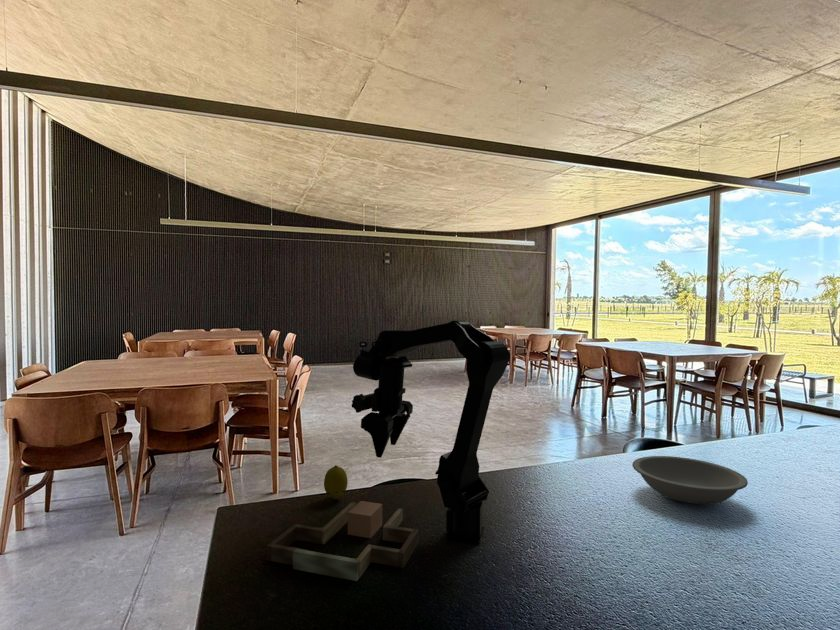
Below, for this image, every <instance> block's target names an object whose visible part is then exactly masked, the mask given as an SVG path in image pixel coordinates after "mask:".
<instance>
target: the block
mask: <svg viewBox="0 0 840 630" xmlns="http://www.w3.org/2000/svg"><path fill="white" fill-rule="evenodd" d="M381 527H383V503H377V502H371V501H362V500H359V502H358V503H356V506H354V507H353V508H352V509H351V510H350V511H349V512H348V522H347V536H348V535H349V536H355V537H361V538H365V539H366V538H367V539H372V537H373V536H374V535H375V534H376V533H377V532H378V531H379V530H380V528H381Z"/></svg>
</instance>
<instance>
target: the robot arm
mask: <svg viewBox="0 0 840 630" xmlns="http://www.w3.org/2000/svg"><path fill="white" fill-rule="evenodd" d="M448 342H453V343H454V346H455V347H456V349H457V351H458V353H459V354H460V355H461V356H462V357H464V359H466V365H465V370H466V374H467V379H468V387H467V390H466V391H467V392H466V394H465V398H464V399H465V400H464V403H463V408H462V412H461V415H460V419H459V423H458V428H457V431H456V435H455V439H454V444H453V447H452V450H451V451H449V452H447V453H444V454H441V455H440V456H439V461H438V468H437V470H436V472H435V475H437V477H436V484H437V486H438V488H439V491H440V495H441V498H442V503H443V506H444V508H447V509H446V512H445V522H446V523H445V530H446V532H447V534H446V539H447V540H451V541H456V542H457V541H458V542H465V543H471V544H480V543H481V540H482V537H483V534H484V531H485V528H484V526H483V502H484V501H487V500H488V496H489V494H490V490H489V489H488V487H487V486H486V484H485V483H484V482H483V480H482V479H481V477H480V476H479V473H480V463H479V460H478V456H477V454H478V451H479V450H478V449H479V445H480V441H481V438H482V434H483V429H484V426H485V421H486V418H487V414H488V410H489V406H490V403H491V399H492V395H493V391H494V388H495V386H496V385H497V384H498V382H499V381H500V380H501V378H502V377H503V376H504V374H505V372H506V370H507V367H508V365H509V362H510V359H511V354H510V353H511V352H510V351H509V350H508V347H507V346H506V345H505V343H503V342H501V341H498V340H495V339H494V338H492V337H491V336H490V335H489V334H486V333H485V332H484V331H481V330H480V329H478V328H476V327H475V326H474V325H473V324H472V323H470V322H469V321H467V320H450V321H449V322H447V323H445V322H444V323H441V324H435V325H431V326H425V327H421V328H416V329H412V330H407V329H405V330H404V329H398V330H397V329H393V330H382V331H380V332H379V333H378V337H377V339H376V340H375V342H374V343H373V345H372V346H371V348H370V349H360V352H359V353H360V354H359V355H358V356H357V357H356V358H355V360H354V363H353V365H352V370H353V373H354V375H355V376H357V377H360V378H364V379H368V380H371V381H376V382H377V381H378V387H376V388H375V389H374V391H373V392H372V393H369V394H363V393H359V394H356V395H353V398H352V400H351V402H352V403H351V408H353V409H354V410H355V413H356V414H359V413H361V412H362V411H368V410H370V409H371V412H369V413H367V414H365V415H364V416H363V417H362V418H361V419H360V428H361V429H363V431H365V432H367V433H369V434H370V436H371V440H372V445H373V449H374V452H375V457H376V458H382V456H383V455H384V452H385V450H386V448H387V445H388V443H389V440H390V445H391V446H395V445H397V442H398V441H399V438H400V436H401V435H402V432H403V430H404V429H405V427H406V425H407V423H408V421H409V419H410V418H411V415H412V414H413V411H414V410H413V408H414V405H413V403H412V402H411V401H409V400H403V395H404V394H406V388H405V387H404V380H405V379H404V378H405V368H412V367H413V364H412V363H411V361H410V360H409V359H408V358H407V357H408V356H406V354H409V353H411V352H413V351H415V350H416V349H418V348H421V347H424V346H431V345H436V344H442V343H448ZM400 355H405V356H400ZM398 356H399V357H398Z"/></svg>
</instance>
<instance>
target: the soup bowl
mask: <svg viewBox="0 0 840 630" xmlns="http://www.w3.org/2000/svg"><path fill="white" fill-rule="evenodd" d="M632 468H633V470H635V472H637V473H638V474H640V475H641V477H642V478H643V480H644V481H645V482H646V484H647V485H648V486H649V487H650V488H651V489H653V490H654V491H655V492H657V493H658V494H660V495H663V496H664V497H667V498H669V499H672V500H674V501H679V502H683V503H688V504H694V505H713V504H718V503H722V502H725V501H726V500H729V499H730V498H733V496H734V495H735V494H736V493H737V492H738V491H739V490H742V489H744V488H746V487H747V486H748V484H749V482H748V479H747V477H745V476H744V475H743V474H741V473H740V472H738V471H736V470H734V469H731V468H728V467H726V466H723V465H720V464H717V463H714V462H709V461H706V460H700V459H694V458H689V457H688V458H687V457H684V456H683V457H681V456H674V455H673V456H669V455H652V456H643V457H638V458H636V459H635V460H633V461H632Z"/></svg>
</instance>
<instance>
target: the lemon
mask: <svg viewBox="0 0 840 630" xmlns="http://www.w3.org/2000/svg"><path fill="white" fill-rule="evenodd" d="M348 480H349V479H348V476H347V471H345V469H344V468H343V467H341V466H338V465H334V466H332V467H331V468H329V469H328V470H327V471H326V473H325V475H324V480H323V488H324V491H325V493H326V494H327V493H331V494H327V495H328V496H329V497H330V498H333V499H334V500H338V498H339V497H341V496H343V495H344V494H345V492H346V491H347V487H348ZM343 491H345V492H343ZM333 492H338V493H333Z"/></svg>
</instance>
